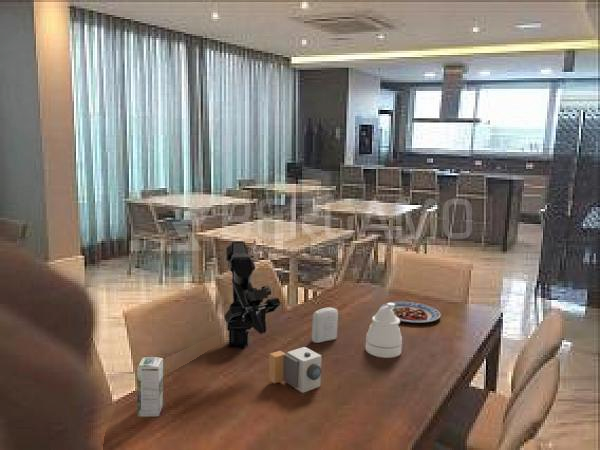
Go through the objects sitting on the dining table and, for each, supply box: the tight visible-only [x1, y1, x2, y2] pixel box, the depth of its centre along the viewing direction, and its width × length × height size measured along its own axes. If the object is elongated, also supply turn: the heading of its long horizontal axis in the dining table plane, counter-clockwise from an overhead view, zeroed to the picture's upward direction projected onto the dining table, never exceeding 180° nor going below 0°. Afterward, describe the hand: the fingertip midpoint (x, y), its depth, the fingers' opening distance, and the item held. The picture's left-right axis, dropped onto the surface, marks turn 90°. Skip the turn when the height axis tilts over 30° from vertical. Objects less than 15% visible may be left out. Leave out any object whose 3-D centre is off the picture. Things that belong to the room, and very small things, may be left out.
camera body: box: [286, 346, 322, 394], centre depth 153 cm, size 10×7×11 cm
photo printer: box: [311, 307, 339, 344], centre depth 188 cm, size 10×4×12 cm, turn 123°
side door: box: [268, 350, 298, 389], centre depth 152 cm, size 9×4×8 cm, turn 39°
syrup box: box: [136, 356, 164, 418], centre depth 135 cm, size 6×6×14 cm
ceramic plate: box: [379, 301, 441, 324], centre depth 219 cm, size 26×26×3 cm
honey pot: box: [365, 302, 403, 359], centre depth 180 cm, size 13×13×18 cm
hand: (263, 333), depth 158 cm, fingers closed
